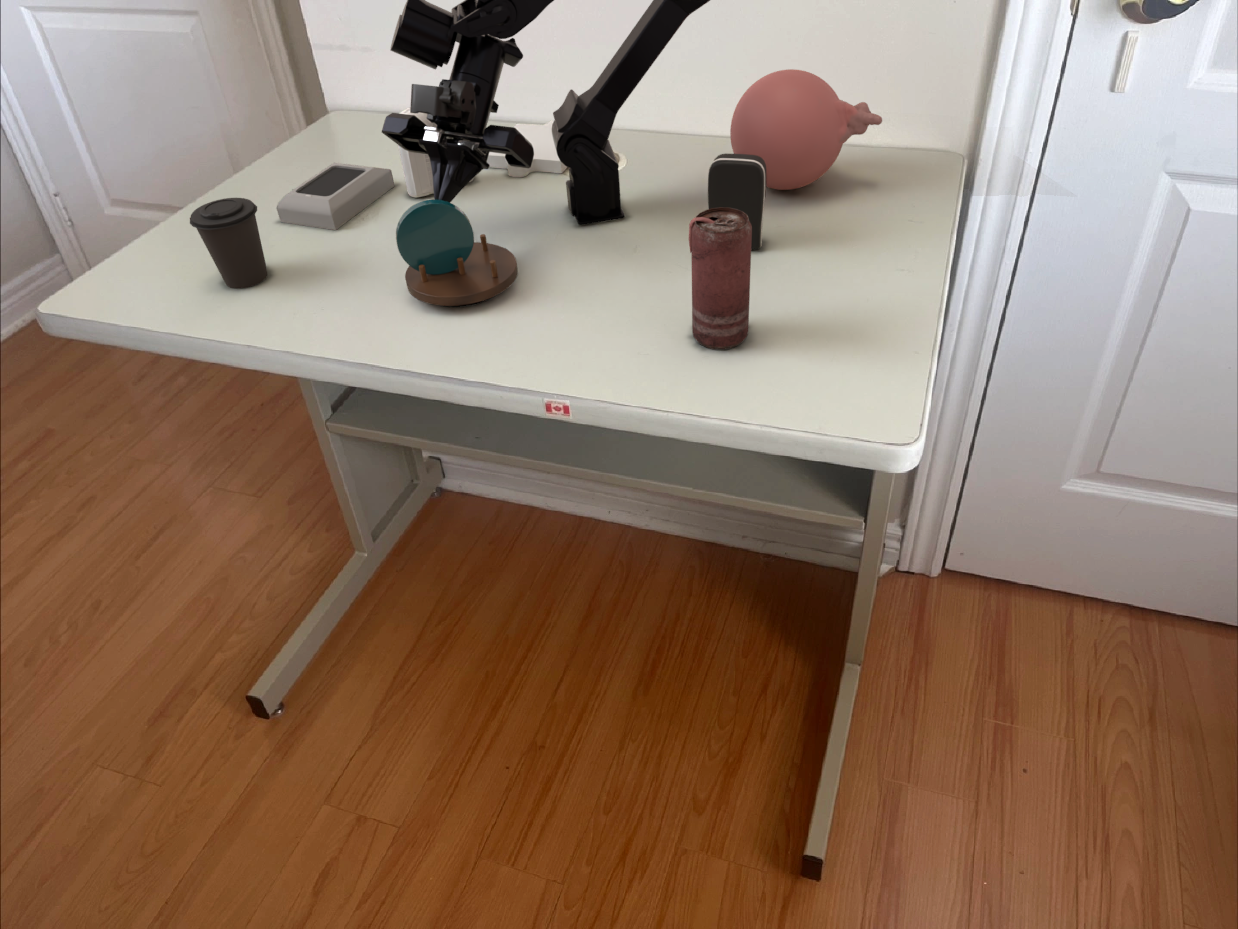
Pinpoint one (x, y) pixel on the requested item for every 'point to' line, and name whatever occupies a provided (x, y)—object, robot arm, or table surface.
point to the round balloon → (795, 126)
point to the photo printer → (417, 165)
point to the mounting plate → (543, 152)
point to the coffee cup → (232, 240)
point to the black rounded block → (739, 188)
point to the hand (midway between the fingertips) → (439, 207)
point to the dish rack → (450, 257)
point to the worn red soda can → (720, 277)
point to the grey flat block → (334, 195)
